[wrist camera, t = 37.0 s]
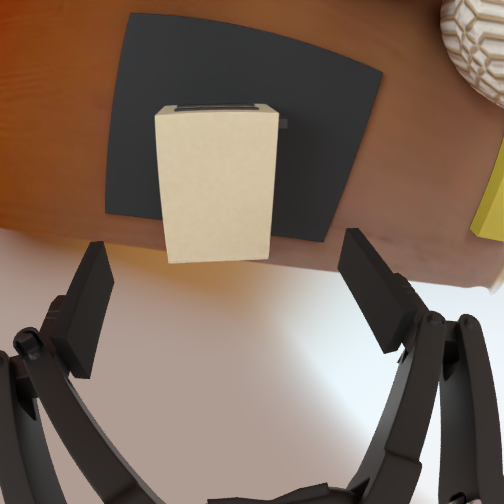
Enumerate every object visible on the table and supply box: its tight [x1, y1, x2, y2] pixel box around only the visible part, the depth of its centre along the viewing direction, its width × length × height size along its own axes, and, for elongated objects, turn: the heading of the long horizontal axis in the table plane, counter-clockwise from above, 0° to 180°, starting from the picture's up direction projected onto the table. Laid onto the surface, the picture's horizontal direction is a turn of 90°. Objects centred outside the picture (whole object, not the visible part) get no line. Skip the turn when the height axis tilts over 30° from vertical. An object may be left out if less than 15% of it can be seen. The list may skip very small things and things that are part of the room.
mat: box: [105, 13, 383, 242], centre depth 27 cm, size 24×20×1 cm
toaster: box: [155, 103, 288, 263], centre depth 26 cm, size 10×6×13 cm
